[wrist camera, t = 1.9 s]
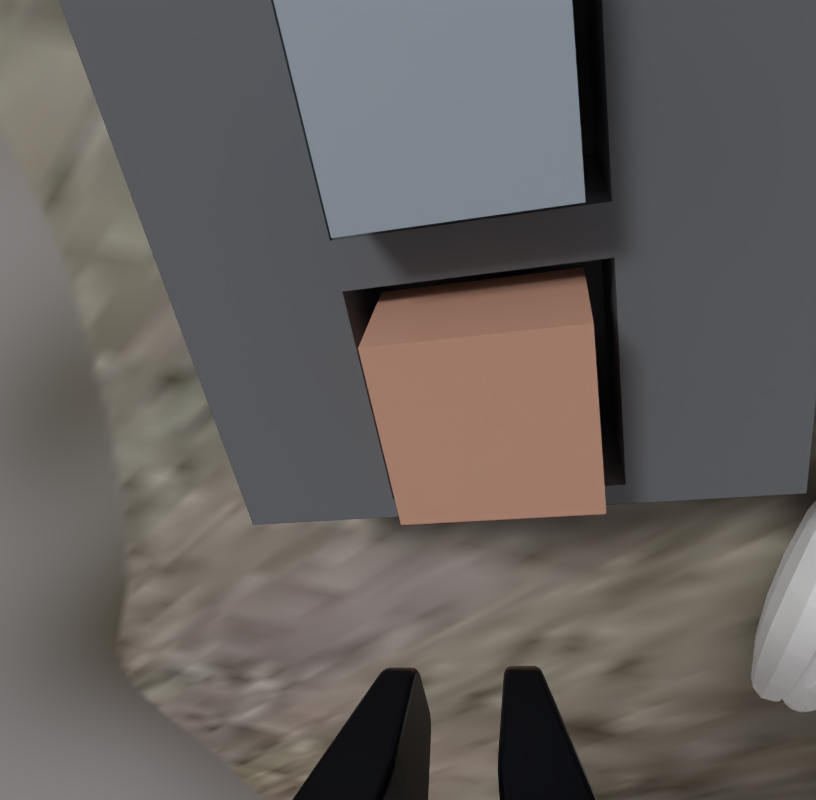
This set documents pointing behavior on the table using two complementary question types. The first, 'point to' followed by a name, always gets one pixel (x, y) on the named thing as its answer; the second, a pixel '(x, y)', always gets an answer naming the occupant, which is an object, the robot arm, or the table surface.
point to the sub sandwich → (790, 626)
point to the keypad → (489, 244)
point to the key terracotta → (488, 398)
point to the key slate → (436, 107)
